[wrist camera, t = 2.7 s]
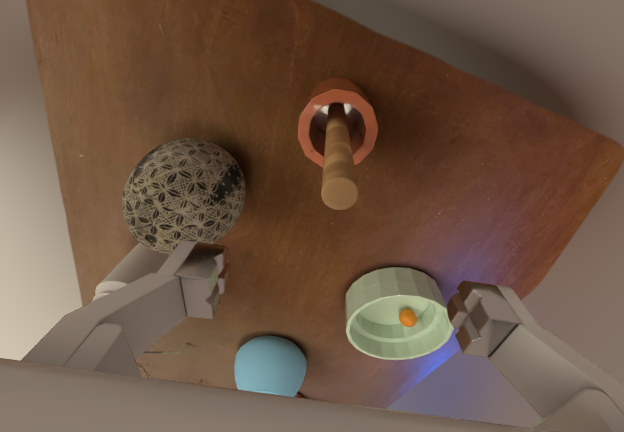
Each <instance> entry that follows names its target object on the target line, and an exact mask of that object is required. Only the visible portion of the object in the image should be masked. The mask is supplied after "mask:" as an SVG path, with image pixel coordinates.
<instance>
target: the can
mask: <svg viewBox="0 0 624 432" xmlns="http://www.w3.org/2000/svg"><path fill="white" fill-rule="evenodd" d="M170 255H171V254H165V253H160V252H157V251H154V250H152V249H149V248H148V247H146V246H144V245H143V244H141V243H140V242H139V243H138V244H137V245H136V246H135V247H134V248H133V249H132V250H131V252H130V253H129V254H128V255H127V256H126V257H125V258H124V259H123V260H122V261H121V262H120V263H119V264H118V265H117V266H116V267H115V268H114V269H113V270H112V271H111V272H110V273H109V274H108V276H107V277H106V278H105V279H104V280H103V281H102V282H101V283H100V284H99V285H98V286H97V287H96V291H95V293H96V296H95V297H94V298H93V301H95V300H97V299H99V298H101V297H103V296H105V295H107V294H109V293H112V292H114V291H116V290H118V289H120V288H122V287H124V286H126V285H128V284H130V283H132V282H134V281H136V280H138V279H140V278H142V277H144V276H146V275H148V274H150V273H157V272H158V270H159V269H160V268H161V266H162V265H163V264H164V263H165V261H166V260H167V259H168V257H169V256H170ZM93 301H92V302H93Z"/></svg>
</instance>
